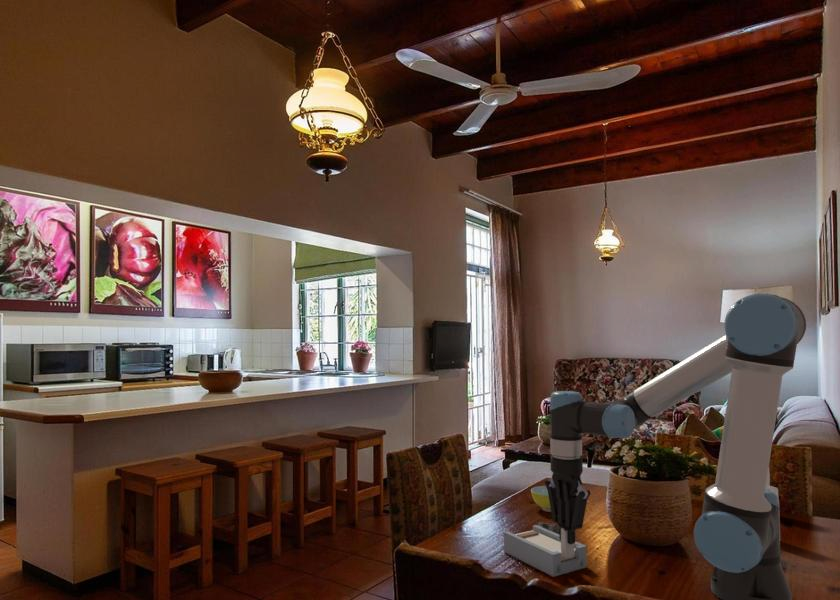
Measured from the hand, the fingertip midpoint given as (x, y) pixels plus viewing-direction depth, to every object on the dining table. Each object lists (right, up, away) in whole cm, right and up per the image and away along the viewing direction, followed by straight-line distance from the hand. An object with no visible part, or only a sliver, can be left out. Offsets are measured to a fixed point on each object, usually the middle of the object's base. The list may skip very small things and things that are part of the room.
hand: (567, 555), depth 137 cm
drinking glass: (+72, -6, +43) cm, 84 cm away
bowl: (+6, -7, +47) cm, 48 cm away
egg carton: (+1, -5, +20) cm, 21 cm away
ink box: (+59, -5, +21) cm, 62 cm away
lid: (-4, -2, +7) cm, 9 cm away
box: (-4, -4, +7) cm, 9 cm away
